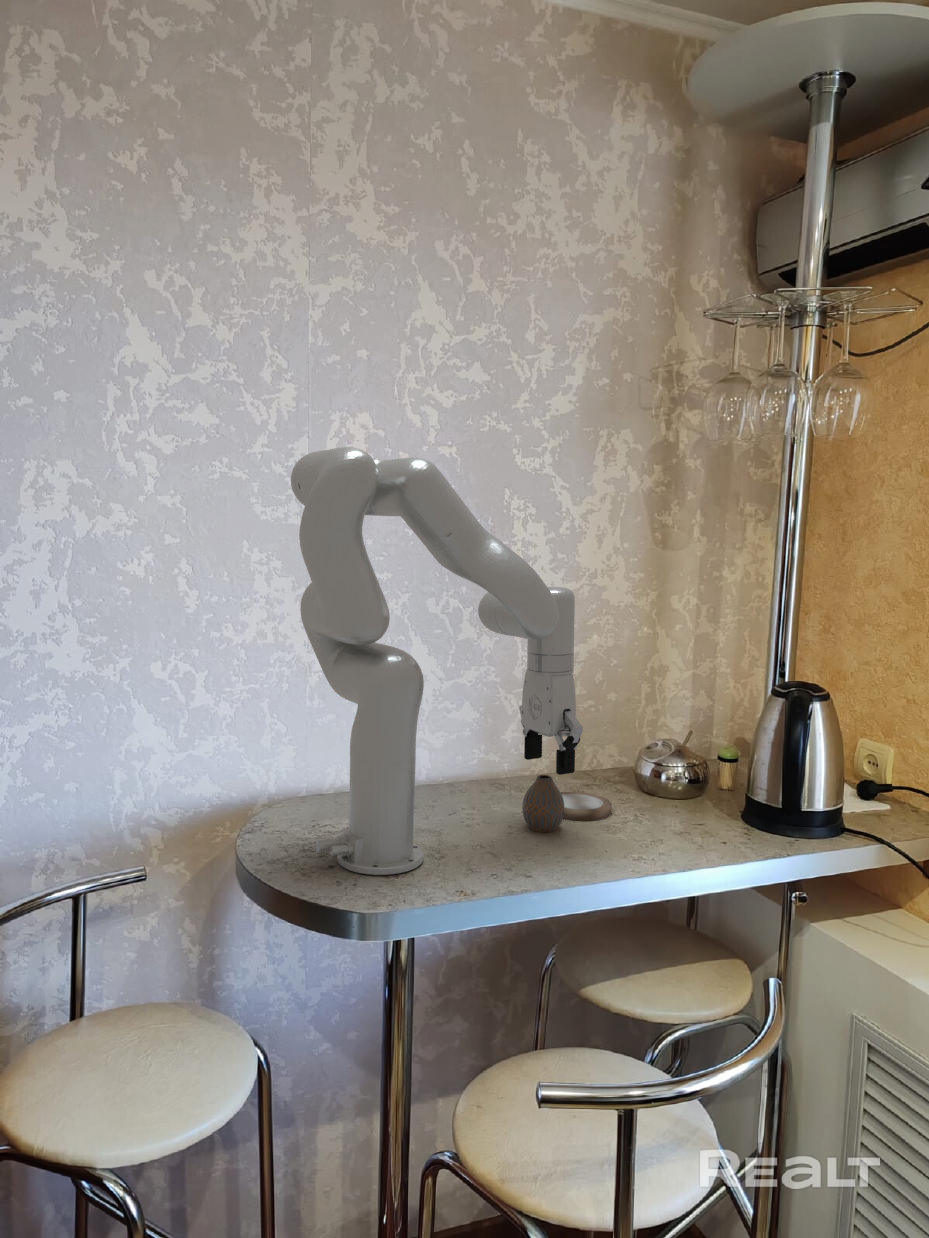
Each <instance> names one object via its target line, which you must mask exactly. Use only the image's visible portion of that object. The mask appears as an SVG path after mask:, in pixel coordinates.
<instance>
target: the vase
mask: <svg viewBox="0 0 929 1238" xmlns="http://www.w3.org/2000/svg"><path fill="white" fill-rule="evenodd" d="M561 792H562V791H561V790H560V789H559V788H558V786H557V785H556V784H555V782H554V779H553V777H552V775H548V774H539V775H537V777H536V778H535V780H534V782H533V783H532V784H531V785H530V786H529V788H528V789H527V791H526V792H525V794H524V796H523V800H522V806H521V807H522V817H523V819H524V822H525V823H526V825H527V826H528V827H529V828H530V829H531V830H532V831H534V832H539V833H550V832H554V831H555V830H556V829H557V828H558V827H559V826H560V825H561V823H562V821H563V820H564V819H563V816H564V800H563V796H562V794H561Z"/></svg>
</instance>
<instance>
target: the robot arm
mask: <svg viewBox="0 0 929 1238" xmlns="http://www.w3.org/2000/svg"><path fill="white" fill-rule="evenodd" d="M290 486H291V489H292V493H293V494H294V497H296V499H297V501H298V502H300V503H301V504H302V505H303V506H304V508H303V511H302V515H301V520H300V525H299V547H300V552H301V555H302V559H303V561H304V565H305V567H306V569H307V572H308V574H309V575H308V576H309V579H310V581H311V582H310V583H309V584H308V585H307V587H306V588H305V589H304V591H303V594H302V596H301V600H300V605H299V606H300V617H301V618H300V619H301V621H302V625H303V628H304V630H305V631H304V632H305V633H306V635H307V638H308V640H309V643H310V645H311V647H312V649H313V651H314V652H313V653H314V654H315V656H316V659H317V661H318V663H319V665H320V668H321V669H322V672H323V674H324V675H323V676H324V677H325V678H326V681H327V682H328V684H329V685H330V687H331V688H332V689H333V691H334V693H336V694H337V695H338V696H340V697H341V698H343V699H344V700H347V701H349V702H351V703H354V704H356V705H357V707H356V713H355V717H354V720H353V724H352V727H351V732H350V741H349V790H348V791H349V795H348V801H349V802H348V803H349V805H348V807H349V808H348V827H347V826H346V827H342V828H341V830H342V832H341V833H342V834H341V833H340V834H337V836H336V837H333V838H329V837H326V838H319V839H316V840H315V850H316V853H317V854H322V853H329V855H330V856H331V857H335V856H337V857H336V858H337V863H338V864H339V865H340V866H341V867H342V868H344V869H345V870H347V871H351V872H353V873H354V872H355V873H357V874H364V875H370V876H371V875H373V876H374V875H375V876H387V875H396V874H402V873H406V872H410V871H412V870H414V869H416V868H418V867H420V865H422V864H423V861H424V850H423V849H422V848H421V846H419V845H418V844H416V843H414V832H415V828H414V827H415V798H416V797H415V795H416V752H417V751H416V750H417V731H418V729H417V728H418V722H419V721H418V720H419V714H420V709H421V704H422V701H423V696H424V695H423V694H424V687H425V685H424V683H425V681H424V674H423V672H422V669H421V666H420V665H419V663H418V661H417V660H416V659H415V658H414V657H413V656H412V655H411V654H409V653H408V652H406V651H405V650H403V649H400V648H399V647H395V646H390V645H387V644H383V643H380V642H379V643H378V641H380V639H382V638H383V636H384V635H385V634H386V632H387V630H388V628H389V625H390V617H391V616H390V615H391V614H390V609H389V605H388V603H387V600H386V598H385V597H386V596H385V595H384V593H383V590H382V588H381V586H380V583H379V580H378V578H377V575H376V573H375V570H374V567H373V565H372V563H371V560H370V558H369V555H368V552H367V548H366V545H365V542H364V537H363V523H364V519H365V516H379V517H400V518H401V519H402V520H404V522H405V524H407V526H408V527H409V528H410V529H411V530H412V532H413V533H414V534H415V535H416V536H417V538H418V539H419V541H421V543H422V544H423V545H424V546H425V548H426V549H427V550H428V551H429V553H430V554H431V556H433V558H434V559H435V561H436V562H437V563H438V564H439V565H440V566H441V567H443V568H444V569H446V570H448V571H450V572H451V573H453V574H454V575H456V576H458V577H460V578H462V579H465V580H468V581H469V582H471V583H474V584H475V585H477V586H478V587H480V588H482V589H484V590H485V591H486V592H487V593H485V594H484V595H483V596H482V598H481V599H480V601H479V603H478V607H477V608H478V609H477V612H478V616H479V619H480V622H481V624H483V626H484V627H485V628H486V629H488V630H489V631H490V632H494V633H495V634H499V635H504V636H510V637H516V638H522V639H525V640H527V647H526V648H527V655H526V657H527V658H526V660H527V661H526V662H527V663H526V664H527V665H526V666H527V667H526V670H525V672H524V673H525V674H524V678H523V685H522V695H521V696H522V697H521V705H520V706H519V707H518V709H519V714H520V723H521V726H522V727H523V729H522V733H523V736H524V745H523V746H524V753H523V755H524V756H523V757H524V759H525V760H526V761H528V760H530V761H531V760H536V759H541V758H542V757H543V736H545V737H548V738H550V737H551V738H553V737H554V738H555V741H556V745H557V746H558V749H556V754H555V755H556V760H555V764H556V766H555V768H556V769H555V773H556V774H557V775H560V776H561V775H568V774H573V773H575V771H576V770H575V769H576V768H575V765H576V750H577V749H578V745H579V743H580V742H581V736H582V733H583V731H584V727H583V725H582V724H581V723H580V722H579V720H578V719H577V704H576V703H577V701H576V688H575V679H574V662H575V661H574V660H575V656H574V655H575V653H574V652H575V615H576V614H575V613H576V611H575V609H576V607H575V606H576V605H575V604H576V603H575V601H576V599H575V594H574V592H573V590H572V589H570V588H567V587H560V586H547V584H546V583H545V581H544V580H543V578H542V577H541V576H540V575H539V574H538V572H537V571H536V570H535V569H534V568H533V567H532V566H531V565H530V564H529V563H528V562H527V561H526V560H525V559H524V558H523V557H521V556H520V555H519V554H517V553H516V552H515V551H513V550H512V549H511V548H510V547H508V546H507V545H506V544H505V543H504V542H502V541H501V540H500V539H499V538H497V537H496V536H494V535H493V534H492V533H490V532H488V530H486V529H485V527H483V525H482V524H481V522H480V521H479V520H478V519H477V518H476V517H475V515H474V513H472V511H471V509H469V507H468V506H467V505H466V504H465V502H464V501H463V500H462V498H461V497H460V496H459V494H458V492H457V491H456V490H455V488H454V487H453V486H452V485H451V483H450V482H449V480H447V478H446V477H445V475H444V474H443V473H442V472H441V470H440V469H439V468H438V467H437V466H436V465H435V464H434V463H433V462H431V461H429V460H428V459H426V458H422V457H404V458H403V457H402V458H394V459H376V458H375V459H374V458H373V457H372V456H371V455H370V454H369V453H368V452H367V451H364V450H363V449H361V448H356V447H352V446H351V447H350V446H348V447H346V446H344V447H335V448H330V449H329V448H328V449H325V450H316V451H313V452H310V453H307V454H305V455H303V456H302V457H300V458H299V459H298V461H296V463H295V464H294V466H293V469H292V471H291V475H290ZM563 737H566V739H565V740H564V739H563Z"/></svg>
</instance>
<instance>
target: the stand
mask: <svg viewBox="0 0 929 1238" xmlns="http://www.w3.org/2000/svg"><path fill="white" fill-rule="evenodd" d="M560 792H561V794H562V796H563V800H564V816H563V818H564V819H563V820H567V819H569V820H568V821H575V820H576V821H577V822H579V821H580V822H589V821H590V822H592V821H591V820H594V821H599V820H598V819H601V820H603V819H602V818H604V819H607V818H608V816H609V815H610V814H612V804H613V803H612V802H611V800H609V799H607V798H606V797H604V796H601V795H598V794H594V793H589V792H580V791H560ZM610 816H611V815H610ZM610 816H609V817H610ZM606 817H607V818H606ZM576 821H575V822H576Z"/></svg>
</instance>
